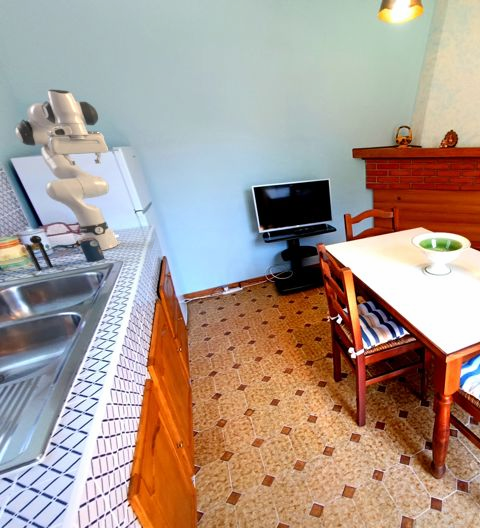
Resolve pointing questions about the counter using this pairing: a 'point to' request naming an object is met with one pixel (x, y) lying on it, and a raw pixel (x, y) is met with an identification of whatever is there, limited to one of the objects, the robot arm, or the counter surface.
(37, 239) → the lever
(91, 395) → the counter surface
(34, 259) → the bracket
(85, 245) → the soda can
